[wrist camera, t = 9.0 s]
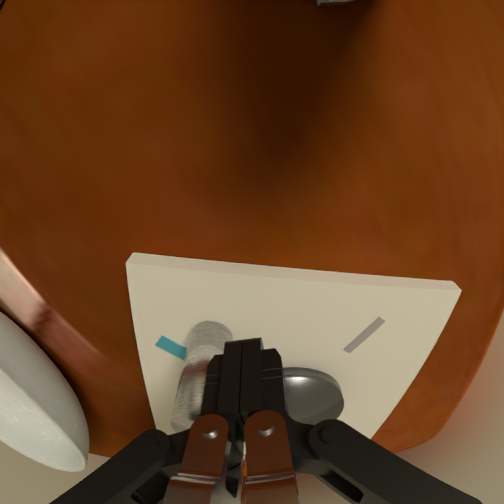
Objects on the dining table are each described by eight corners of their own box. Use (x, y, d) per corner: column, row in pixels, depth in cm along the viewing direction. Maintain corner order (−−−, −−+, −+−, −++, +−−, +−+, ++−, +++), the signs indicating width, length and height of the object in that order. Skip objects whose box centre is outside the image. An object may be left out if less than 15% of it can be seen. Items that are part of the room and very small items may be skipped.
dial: (357, 404, 20) (374, 470, 14) (268, 438, 22) (270, 500, 16) (258, 288, 15) (262, 384, 10) (149, 350, 17) (122, 431, 12)
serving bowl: (39, 248, 16) (-26, 308, 10) (140, 433, 25) (126, 489, 19) (-71, 269, 17) (-108, 302, 11) (12, 405, 26) (-7, 442, 20)
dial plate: (163, 434, 25) (160, 445, 23) (133, 252, 16) (125, 263, 15) (358, 440, 26) (361, 450, 24) (452, 281, 17) (462, 291, 16)
